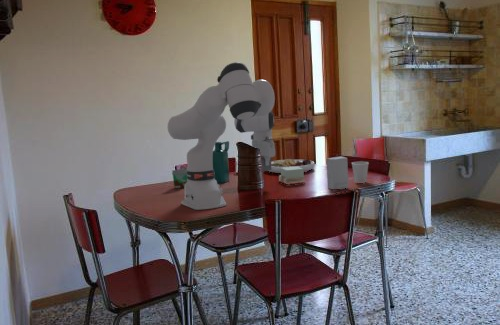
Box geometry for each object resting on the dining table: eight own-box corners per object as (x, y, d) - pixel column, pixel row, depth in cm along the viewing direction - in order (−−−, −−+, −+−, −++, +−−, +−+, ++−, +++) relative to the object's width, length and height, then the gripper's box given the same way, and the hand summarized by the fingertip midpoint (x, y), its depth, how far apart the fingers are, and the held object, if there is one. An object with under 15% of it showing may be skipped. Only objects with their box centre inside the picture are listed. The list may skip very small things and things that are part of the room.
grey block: (271, 170, 214) (270, 157, 213) (261, 171, 212) (261, 158, 211) (267, 168, 218) (266, 156, 218) (257, 169, 217) (257, 157, 216)
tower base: (305, 184, 224) (304, 176, 224) (287, 186, 221) (287, 178, 220) (296, 181, 233) (295, 173, 233) (279, 183, 230) (278, 175, 229)
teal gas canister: (210, 182, 238) (207, 142, 235) (216, 180, 246) (214, 141, 243) (226, 183, 235) (223, 142, 232) (232, 180, 242) (230, 140, 239)
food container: (184, 189, 223) (183, 170, 222) (173, 189, 224) (172, 170, 223) (192, 185, 235) (191, 166, 234) (181, 185, 236) (180, 166, 235)
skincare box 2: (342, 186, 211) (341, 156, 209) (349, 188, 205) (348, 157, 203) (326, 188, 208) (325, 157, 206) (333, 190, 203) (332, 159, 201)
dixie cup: (371, 183, 215) (371, 163, 213) (354, 184, 214) (354, 164, 213) (365, 180, 223) (365, 161, 221) (349, 181, 222) (349, 162, 221)
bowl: (255, 173, 261) (254, 160, 260) (280, 166, 286) (280, 154, 285) (299, 176, 244) (299, 162, 243) (322, 168, 269) (322, 155, 268)
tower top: (303, 176, 223) (303, 168, 223) (287, 178, 221) (286, 170, 220) (297, 173, 232) (296, 166, 231) (281, 175, 230) (280, 167, 229)
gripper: (278, 137, 204) (279, 166, 206) (260, 134, 223) (262, 161, 225) (265, 138, 202) (267, 167, 204) (249, 135, 221) (250, 162, 223)
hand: (264, 164), depth 215 cm, fingers closed on grey block, 5 cm apart
